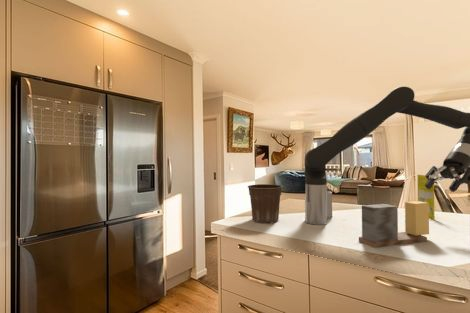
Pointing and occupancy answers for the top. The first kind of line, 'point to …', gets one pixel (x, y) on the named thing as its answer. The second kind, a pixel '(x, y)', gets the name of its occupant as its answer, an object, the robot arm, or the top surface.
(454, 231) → the top surface
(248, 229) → the top surface
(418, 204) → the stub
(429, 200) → the food package
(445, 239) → the top surface
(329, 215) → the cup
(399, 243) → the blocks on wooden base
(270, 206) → the plant pot
